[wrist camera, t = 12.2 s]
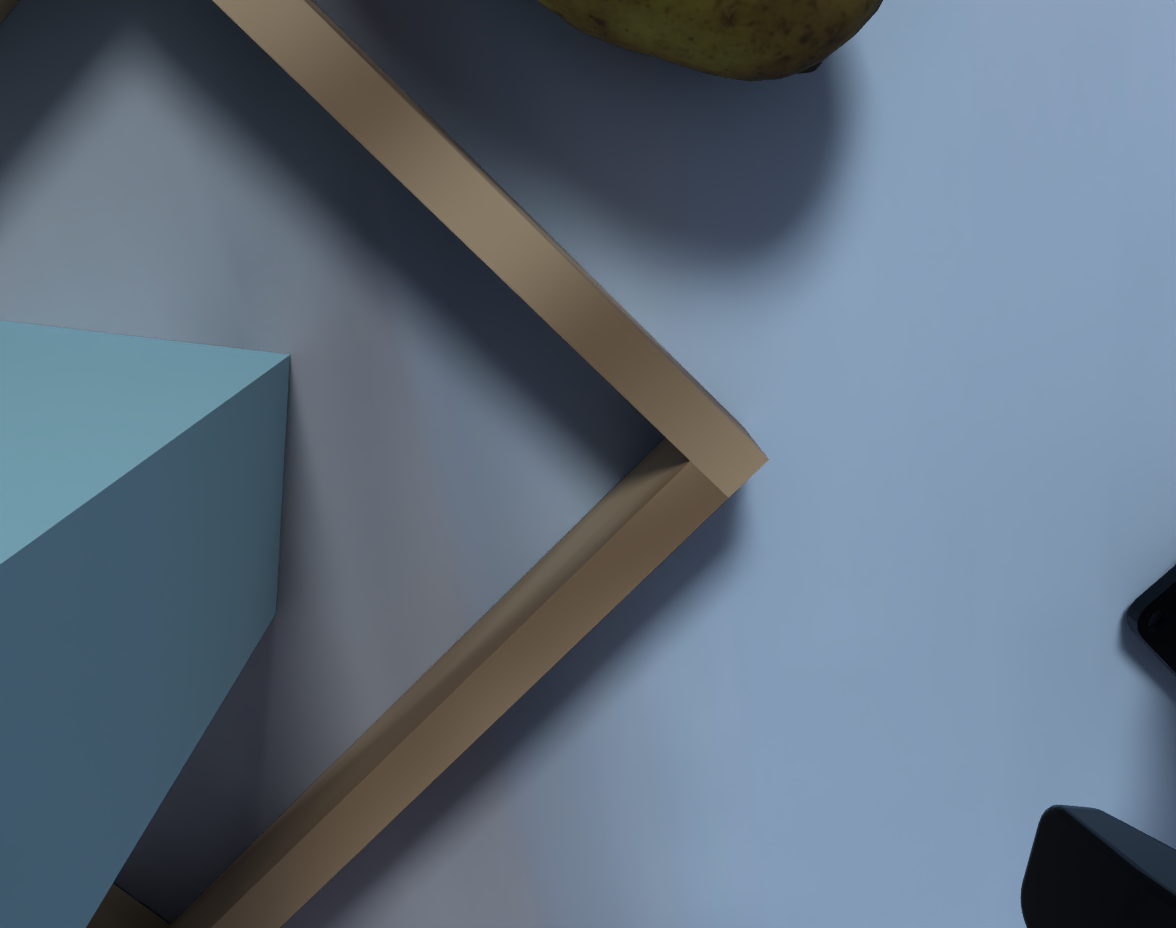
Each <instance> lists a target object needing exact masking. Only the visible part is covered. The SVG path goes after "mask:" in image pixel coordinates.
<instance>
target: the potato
mask: <svg viewBox="0 0 1176 928" xmlns="http://www.w3.org/2000/svg"><path fill="white" fill-rule="evenodd" d="M538 1H539V2H540V3H541V4H542V5H544V6H545V7H547V8H548V9H550V10H551V11H553V12H554V13H556V14H557V15H558V16H560V17H561V18H562V19H564V20H565V21H566V22H568V23H569V24H571V25H572V26H574V27H575V28H577V29H579V30H580V31H582V32H584V33H586V34H589V35H591V36H593V37H596V38H598V39H601V40H603V41H606V42H608V43H610V44H613V45H615V46H617V47H620V48H623V49H627V50H631V51H635V52H639V53H642V54H646V55H649V56H653V57H656V58H660V59H663V60H666V61H669V62H672V63H675V64H678V65H681V66H684V67H687V68H691V69H694V70H697V71H701V72H704V73H707V74H713V75H716V76H721V77H726V78H731V79H738V80H746V81H760V80H771V79H781V78H784V77H787V76H790V75H794V74H799V73H808V72H812V71H815V70H816V69H817V68H818V66H819V65H820V64H821V63H822V61H823V60H824V59H826V58H827V57H828V56H829V55H830V54H831V53H833V52H834V51H835V50H837V49H838V48H839V47H841V46H842V45H843V44H845V43H846V42H847V41H848V40H850V39H851V38H852V37H853V36H854V35H855V34H856V33H857V32H858V31H859V30H860V29H861V28H862V27H863V26H864V25H865V24H866V23H867V21H868V20H869V19H870V18H871V17H872V16H873V15H874V14H875V13H876V11H877V10H878V9H879V7H880V5H881V3H882V1H883V0H538Z"/></svg>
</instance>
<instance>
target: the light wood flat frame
mask: <svg viewBox="0 0 1176 928" xmlns="http://www.w3.org/2000/svg"><path fill="white" fill-rule="evenodd" d="M18 1H19V0H0V23H1V22H2V21H3V20H4V18H5V17H6V16H7V15H8V13H9V12H10V11H11V10H12V8H13V7H14V6H15V5H16V3H17V2H18ZM212 1H213V2H215V3H216V4H217V5H218V6H219V7H220V8H221V9H222V10H223V11H224V12H225V13H226V14H227V15H228V16H229V17H230V18H231V19H232V20H233V21H234V22H235V23H236V24H237V25H238V26H239V27H240V28H242V29H243V30H244V31H245V32H246V33H247V34H248V35H249V36H250V37H251V38H252V39H253V40H254V41H255V42H256V43H257V44H258V45H259V46H260V47H261V48H262V49H263V50H264V51H265V52H266V53H267V54H268V55H270V56H271V57H272V58H273V59H274V60H275V61H276V62H277V63H278V64H279V65H280V66H281V67H282V68H283V69H284V70H285V71H286V72H287V73H288V74H289V75H290V76H291V77H292V78H293V79H294V80H295V81H297V82H298V83H299V84H300V85H301V86H302V87H303V88H304V89H305V90H306V91H307V92H308V93H309V94H310V95H311V96H312V97H313V98H314V99H315V100H316V101H317V102H318V103H319V104H320V105H321V106H322V107H324V108H325V109H326V110H327V111H328V112H329V113H330V114H331V115H332V116H333V117H334V118H335V119H336V120H337V121H338V122H339V123H340V124H341V125H342V126H343V127H344V128H345V129H346V130H347V131H348V132H349V133H350V134H352V135H353V136H354V137H355V138H356V139H357V140H358V141H359V142H360V143H361V144H362V145H363V146H364V147H365V148H366V149H367V150H368V151H369V152H370V153H371V154H372V155H373V156H374V157H375V158H376V159H377V160H379V161H380V162H381V163H382V164H383V165H384V166H385V167H386V168H387V169H388V170H389V171H390V172H391V173H392V174H393V175H394V176H395V177H396V178H397V179H398V180H399V181H400V182H401V183H402V184H403V185H404V186H405V187H407V188H408V189H409V190H410V191H411V192H412V193H413V194H414V195H415V196H416V197H417V198H418V199H419V200H420V201H421V202H422V203H423V204H424V205H425V206H426V207H427V208H428V209H429V210H430V211H431V212H432V213H434V214H435V215H436V216H437V217H438V218H439V219H440V220H441V221H442V222H443V223H444V224H445V225H446V226H447V227H448V228H449V229H450V230H451V231H452V232H453V233H454V234H455V235H456V236H457V237H458V238H459V239H460V240H462V241H463V242H464V243H465V244H466V245H467V246H468V247H469V248H470V249H471V250H472V251H473V252H474V253H475V254H476V255H477V256H478V257H479V258H480V259H481V260H482V261H483V262H484V263H485V264H486V265H487V266H489V267H490V268H491V269H492V270H493V271H494V272H495V273H496V274H497V275H498V276H499V277H500V278H501V279H502V280H503V281H504V282H505V283H506V284H507V285H508V286H509V287H510V288H511V289H512V290H513V291H514V292H516V293H517V294H518V295H519V296H520V297H521V298H522V299H523V300H524V301H525V302H526V303H527V304H528V305H529V306H530V307H531V308H532V309H533V310H534V311H535V312H536V313H537V314H538V315H539V316H540V317H541V318H542V319H544V320H545V321H546V322H547V323H548V324H549V325H550V326H551V327H552V328H553V329H554V330H555V331H556V332H557V333H558V334H559V335H560V336H561V337H562V338H563V339H564V340H565V341H566V342H567V343H568V344H569V345H571V346H572V347H573V348H574V349H575V350H576V351H577V352H578V353H579V354H580V355H581V356H582V357H583V358H584V359H585V360H586V361H587V362H588V363H589V364H590V365H591V366H592V367H593V368H594V369H595V370H596V371H597V372H599V373H600V374H601V375H602V376H603V377H604V378H605V379H606V380H607V381H608V382H609V383H610V384H611V385H612V386H613V387H614V388H615V389H616V390H617V391H618V392H619V393H620V394H621V395H622V396H623V397H624V398H626V399H627V400H628V401H629V402H630V403H631V404H632V405H633V406H634V407H635V408H636V409H637V410H638V411H639V412H640V413H641V414H642V415H643V416H644V417H645V418H646V419H647V420H648V421H649V422H650V423H651V424H652V425H654V426H655V427H656V428H657V429H658V430H659V431H660V432H661V433H662V434H663V435H664V436H665V438H664V439H663V440H662V441H661V442H660V443H659V444H658V445H657V446H655V447H654V448H653V449H652V450H651V451H650V452H649V453H648V454H647V455H646V456H645V457H644V458H643V459H642V460H641V461H640V462H639V463H638V464H637V465H636V466H635V467H634V468H633V469H632V470H631V471H630V472H629V473H628V474H627V475H626V476H625V477H624V478H623V479H622V480H621V481H620V482H619V483H618V484H617V485H616V486H615V487H614V488H613V489H612V490H611V491H610V492H609V493H608V494H607V495H606V496H605V497H604V498H603V499H602V500H601V501H600V502H599V503H598V504H597V505H596V506H595V507H594V508H593V509H591V510H590V511H589V512H588V513H587V514H586V515H585V516H584V517H583V518H582V519H581V520H580V521H579V522H578V523H577V524H576V525H575V526H574V527H573V528H572V529H571V530H570V531H569V532H568V533H567V534H566V535H565V536H564V537H563V538H562V539H561V540H560V541H559V542H558V543H557V544H556V545H555V546H554V547H553V548H552V549H551V550H550V551H549V552H548V553H547V554H546V555H545V556H544V557H543V558H542V559H541V560H540V561H539V562H538V563H537V564H536V565H535V566H534V567H533V568H532V569H531V570H530V571H529V572H527V573H526V574H525V575H524V576H523V577H522V578H521V579H520V580H519V581H518V582H517V583H516V584H515V585H514V586H513V587H512V588H511V589H510V590H509V591H508V592H507V593H506V594H505V595H504V596H503V597H502V598H501V599H500V600H499V601H498V602H497V603H496V604H495V605H494V606H493V607H492V608H491V609H490V610H489V611H488V612H487V613H486V614H485V615H484V616H483V617H482V618H481V619H480V620H479V621H478V622H477V623H476V624H475V625H474V626H473V627H472V628H471V629H470V630H469V631H468V632H467V633H466V634H464V635H463V636H462V637H461V638H460V639H459V640H458V641H457V642H456V643H455V644H454V645H453V646H452V647H451V648H450V649H449V650H448V651H447V652H446V653H445V654H444V655H443V656H442V657H441V658H440V659H439V660H438V661H437V662H436V663H435V664H434V665H433V666H432V667H431V668H430V669H429V670H428V671H427V672H426V673H425V674H424V675H423V676H422V677H421V678H420V679H419V680H418V681H417V682H416V683H415V684H414V685H413V686H412V687H411V688H410V689H409V690H408V691H407V692H406V693H405V694H404V695H403V696H402V697H400V698H399V699H398V700H397V701H396V702H395V703H394V704H393V705H392V706H391V707H390V708H389V709H388V710H387V711H386V712H385V713H384V714H383V715H382V716H381V717H380V718H379V719H378V720H377V721H376V722H375V723H374V724H373V725H372V726H371V727H370V728H369V729H368V730H367V731H366V732H365V733H364V734H363V735H362V736H361V737H360V738H359V739H358V740H357V741H356V742H355V743H354V744H353V745H352V746H351V747H350V748H349V749H348V750H347V751H346V752H345V753H344V754H343V755H342V756H341V757H340V758H339V759H338V760H336V761H335V762H334V763H333V764H332V765H331V766H330V767H329V768H328V769H327V770H326V771H325V772H324V773H323V774H322V775H321V776H320V777H319V778H318V779H317V780H316V781H315V782H314V783H313V784H312V785H311V786H310V787H309V788H308V789H307V790H306V791H305V792H304V793H303V794H302V795H301V796H300V797H299V798H298V799H297V800H296V801H295V802H294V803H293V804H292V805H291V806H290V807H289V808H288V809H287V810H286V811H285V812H284V813H283V814H282V815H281V816H280V817H279V818H278V819H277V820H276V821H275V822H274V823H272V824H271V825H270V826H269V827H268V828H267V829H266V830H265V831H264V832H263V833H262V834H261V835H260V836H259V837H258V838H257V839H256V840H255V841H254V842H253V843H252V844H251V845H250V846H249V847H248V848H247V849H246V850H245V851H244V852H243V853H242V854H241V855H240V856H239V857H238V858H237V859H236V860H235V861H234V862H233V863H232V864H231V865H230V866H229V867H228V868H227V869H226V870H225V871H224V872H223V873H222V874H221V875H220V876H219V877H218V878H217V879H216V880H215V881H214V882H213V883H212V884H211V885H210V886H208V887H207V888H206V889H205V890H204V891H203V892H202V893H201V894H200V895H199V896H198V897H197V898H196V899H195V900H194V901H193V902H192V903H191V904H190V905H189V906H188V907H187V908H186V909H185V910H184V911H183V912H182V913H181V914H180V915H179V916H178V917H177V918H176V919H175V920H174V921H173V922H172V923H171V924H169V923H167V922H166V921H164V920H163V919H162V918H160V917H159V916H158V915H156V914H155V913H153V912H152V911H151V910H149V909H148V908H146V907H145V906H144V905H142V904H141V903H139V902H138V901H137V900H135V899H134V898H133V897H131V896H130V895H128V894H127V893H126V892H124V891H123V890H121V889H120V888H119V887H117V886H116V885H114V884H112V885H111V887H110V889H109V890H108V892H107V894H106V895H105V897H104V899H103V900H102V902H101V904H100V905H99V907H98V908H97V910H96V912H95V913H94V915H93V917H92V918H91V920H90V922H89V923H88V925H87V927H86V928H280V927H281V926H282V925H283V924H284V923H286V922H287V921H288V920H289V919H290V918H291V917H292V916H293V915H294V914H295V913H296V912H297V911H298V910H299V909H300V908H301V907H302V906H303V905H304V904H305V903H306V902H307V901H308V900H310V899H311V898H312V897H313V896H314V895H315V894H316V893H317V892H318V891H319V890H320V889H321V888H322V887H323V886H324V885H325V884H326V883H327V882H328V881H329V880H330V879H331V878H332V877H334V876H335V875H336V874H337V873H338V872H339V871H340V870H341V869H342V868H343V867H344V866H345V865H346V864H347V863H348V862H349V861H350V860H351V859H352V858H353V857H354V856H355V855H356V854H358V853H359V852H360V851H361V850H362V849H363V848H364V847H365V846H366V845H367V844H368V843H369V842H370V841H371V840H372V839H373V838H374V837H375V836H376V835H377V834H378V833H379V832H380V831H382V830H383V829H384V828H385V827H386V826H387V825H388V824H389V823H390V822H391V821H392V820H393V819H394V818H395V817H396V816H397V815H398V814H399V813H400V812H401V811H402V810H403V809H404V808H406V807H407V806H408V805H409V804H410V803H411V802H412V801H413V800H414V799H415V798H416V797H417V796H418V795H419V794H420V793H421V792H422V791H423V790H424V789H425V788H426V787H427V786H429V785H430V784H431V783H432V782H433V781H434V780H435V779H436V778H437V777H438V776H439V775H440V774H441V773H442V772H443V771H444V770H445V769H446V768H447V767H448V766H449V765H450V764H451V763H453V762H454V761H455V760H456V759H457V758H458V757H459V756H460V755H461V754H462V753H463V752H464V751H465V750H466V749H467V748H468V747H469V746H470V745H471V744H472V743H473V742H474V741H475V740H477V739H478V738H479V737H480V736H481V735H482V734H483V733H484V732H485V731H486V730H487V729H488V728H489V727H490V726H491V725H492V724H493V723H494V722H495V721H496V720H497V719H498V718H499V717H501V716H502V715H503V714H504V713H505V712H506V711H507V710H508V709H509V708H510V707H511V706H512V705H513V704H514V703H515V702H516V701H517V700H518V699H519V698H520V697H521V696H522V695H523V694H525V693H526V692H527V691H528V690H529V689H530V688H531V687H532V686H533V685H534V684H535V683H536V682H537V681H538V680H539V679H540V678H541V677H542V676H543V675H544V674H545V673H546V672H548V671H549V670H550V669H551V668H552V667H553V666H554V665H555V664H556V663H557V662H558V661H559V660H560V659H561V658H562V657H563V656H564V655H565V654H566V653H567V652H568V651H569V650H570V649H572V648H573V647H574V646H575V645H576V644H577V643H578V642H579V641H580V640H581V639H582V638H583V637H584V636H585V635H586V634H587V633H588V632H589V631H590V630H591V629H592V628H593V627H594V626H596V625H597V624H598V623H599V622H600V621H601V620H602V619H603V618H604V617H605V616H606V615H607V614H608V613H609V612H610V611H611V610H612V609H613V608H614V607H615V606H616V605H617V604H618V603H620V602H621V601H622V600H623V599H624V598H625V597H626V596H627V595H628V594H629V593H630V592H631V591H632V590H633V589H634V588H635V587H636V586H637V585H638V584H639V583H640V582H641V581H642V580H644V579H645V578H646V577H647V576H648V575H649V574H650V573H651V572H652V571H653V570H654V569H655V568H656V567H657V566H658V565H659V564H660V563H661V562H662V561H663V560H664V559H665V558H666V557H668V556H669V555H670V554H671V553H672V552H673V551H674V550H675V549H676V548H677V547H678V546H679V545H680V544H681V543H682V542H683V541H684V540H685V539H686V538H687V537H688V536H689V535H691V534H692V533H693V532H694V531H695V530H696V529H697V528H698V527H699V526H700V525H701V524H702V523H703V522H704V521H705V520H706V519H707V518H708V517H709V516H710V515H711V514H712V513H713V512H715V511H716V510H717V509H718V508H719V507H720V506H721V505H722V504H723V503H724V502H725V501H726V500H727V499H728V498H729V497H730V496H731V495H732V494H733V493H734V492H735V491H736V490H737V489H739V488H740V487H741V486H742V485H743V484H744V483H745V482H746V481H747V480H748V479H749V478H750V477H751V476H752V475H753V474H754V473H755V472H756V471H757V470H758V469H759V468H760V467H761V466H763V465H764V464H765V463H766V462H767V461H768V460H769V459H768V458H767V456H766V455H765V454H764V453H763V451H762V450H761V449H760V447H759V446H758V445H757V444H756V442H755V441H754V440H753V438H752V437H751V436H750V435H749V433H748V432H747V431H746V430H745V428H744V427H743V426H742V425H741V424H740V423H739V422H738V421H737V420H736V419H735V418H734V417H733V416H732V415H731V414H730V413H729V412H728V411H727V410H726V409H725V408H724V407H723V406H722V405H721V404H720V403H719V402H718V401H717V400H716V399H715V398H714V397H713V396H712V395H711V394H710V393H709V392H708V391H707V390H706V389H705V388H704V387H703V386H702V385H701V384H700V383H699V382H697V381H696V380H695V379H694V378H693V377H692V376H691V375H690V374H689V373H688V372H687V371H686V370H685V369H684V368H683V367H682V366H681V365H680V364H679V363H678V362H677V361H676V360H675V359H674V358H673V357H672V356H671V355H670V354H669V353H668V352H667V351H666V350H665V349H664V348H663V347H662V346H661V345H660V344H659V343H658V342H657V341H656V340H655V339H654V338H653V337H652V336H651V335H650V334H649V333H648V332H647V331H646V330H645V329H644V328H643V327H642V326H641V325H640V324H639V323H638V322H637V321H636V320H635V319H634V318H633V317H632V316H631V315H630V314H629V313H628V312H627V311H626V310H625V309H624V308H623V307H622V306H621V305H620V304H619V303H618V302H617V301H616V300H615V299H614V298H613V297H612V296H611V295H610V294H608V293H607V292H606V291H605V290H604V289H603V288H602V287H601V286H600V285H599V284H598V283H597V282H596V281H595V280H594V279H593V278H592V277H591V276H590V275H589V274H588V273H587V272H586V271H585V270H584V269H583V268H582V267H581V266H580V265H579V264H578V263H577V262H576V261H575V260H574V259H573V258H572V257H571V256H570V255H569V254H568V253H567V252H566V251H565V250H564V249H563V248H562V247H561V246H560V245H559V244H558V243H557V242H556V241H555V240H554V239H553V238H552V237H551V236H550V235H549V234H548V233H547V232H546V231H545V230H544V229H543V228H542V227H541V226H540V225H539V224H538V223H537V222H536V221H535V220H534V219H533V218H532V217H531V216H530V215H529V214H528V213H527V212H526V211H525V210H524V209H523V208H522V207H521V206H519V205H518V204H517V203H516V202H515V201H514V200H513V199H512V198H511V197H510V196H509V195H508V194H507V193H506V192H505V191H504V190H503V189H502V188H501V187H500V186H499V185H498V184H497V183H496V182H495V181H494V180H493V179H492V178H491V177H490V176H489V175H488V174H487V173H486V172H485V171H484V170H483V169H482V168H481V167H480V166H479V165H478V164H477V163H476V162H475V161H474V160H473V159H472V158H471V157H470V156H469V155H468V154H467V153H466V152H465V151H464V150H463V149H462V148H461V147H460V146H459V145H458V144H457V143H456V142H455V141H454V140H453V139H452V138H451V137H450V136H449V135H448V134H447V133H446V132H445V131H444V130H443V129H442V128H441V127H440V126H439V125H438V124H437V123H436V122H435V121H434V120H433V119H432V118H430V117H429V116H428V115H427V114H426V113H425V112H424V111H423V110H422V109H421V108H420V107H419V106H418V105H417V104H416V103H415V102H414V101H413V100H412V99H411V98H410V97H409V96H408V95H407V94H406V93H405V92H404V91H403V90H402V89H401V88H400V87H399V86H398V85H397V84H396V83H395V82H394V81H393V80H392V79H391V78H390V77H389V76H388V75H387V74H386V73H385V72H384V71H383V70H382V69H381V68H380V67H379V66H378V65H377V64H376V63H375V62H374V61H373V60H372V59H371V58H370V57H369V56H368V55H367V54H366V53H365V52H364V51H363V50H362V49H361V48H360V47H359V46H358V45H357V44H356V43H355V42H354V41H353V40H352V39H351V38H350V37H349V36H348V35H347V34H346V33H345V32H344V31H343V30H341V29H340V28H339V27H338V26H337V25H336V24H335V23H334V22H333V21H332V20H331V19H330V18H329V17H328V16H327V15H326V14H325V13H324V12H323V11H322V10H321V9H320V8H319V7H318V6H317V5H316V4H315V3H314V2H313V1H312V0H212Z"/></svg>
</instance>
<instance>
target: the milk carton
mask: <svg viewBox="0 0 1176 928" xmlns="http://www.w3.org/2000/svg"><path fill="white" fill-rule="evenodd" d="M289 367H290V355H289V354H281V353H272V352H264V351H255V350H247V349H238V348H230V347H221V346H213V345H204V344H196V343H187V342H179V341H170V340H162V339H154V338H145V337H137V336H128V335H120V334H111V333H103V332H94V331H86V330H77V329H69V328H60V327H52V326H44V325H35V324H27V323H18V322H10V321H1V320H0V928H86V927H87V925H88V923H89V922H90V920H91V918H92V917H93V915H94V913H95V912H96V910H97V908H98V907H99V905H100V904H101V902H102V900H103V899H104V897H105V895H106V894H107V892H108V890H109V889H110V887H111V885H112V884H113V882H114V880H115V879H116V877H117V875H118V874H119V872H120V871H121V869H122V867H123V866H124V864H125V862H126V861H127V859H128V857H129V856H130V854H131V852H132V851H133V849H134V847H135V846H136V844H137V842H138V841H139V839H140V837H141V836H142V834H143V833H144V831H145V829H146V828H147V826H148V824H149V823H150V821H151V819H152V818H153V816H154V814H155V813H156V811H157V809H158V808H159V806H160V804H161V803H162V801H163V799H164V798H165V796H166V795H167V793H168V791H169V790H170V788H171V786H172V785H173V783H174V781H175V780H176V778H177V776H178V775H179V773H180V771H181V770H182V768H183V766H184V765H185V763H186V761H187V760H188V758H189V757H190V755H191V753H192V752H193V750H194V748H195V747H196V745H197V743H198V742H199V740H200V738H201V737H202V735H203V733H204V732H205V730H206V728H207V727H208V725H209V724H210V722H211V720H212V719H213V717H214V715H215V714H216V712H217V710H218V709H219V707H220V705H221V704H222V702H223V700H224V699H225V697H226V695H227V694H228V692H229V690H230V689H231V687H232V686H233V684H234V682H235V681H236V679H237V677H238V676H239V674H240V672H241V671H242V669H243V667H244V666H245V664H246V662H247V661H248V659H249V657H250V656H251V654H252V652H253V651H254V649H255V648H256V646H257V644H258V643H259V641H260V639H261V638H262V636H263V634H264V633H265V631H266V629H267V628H268V626H269V624H270V623H271V621H272V619H273V618H274V616H275V615H276V603H277V585H278V567H279V548H280V530H281V512H282V494H283V476H284V458H285V440H286V421H287V403H288V385H289Z"/></svg>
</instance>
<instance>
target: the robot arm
mask: <svg viewBox="0 0 1176 928" xmlns="http://www.w3.org/2000/svg"><path fill="white" fill-rule="evenodd" d="M1158 611H1162V614H1161V618H1160V619H1159V620H1158V622H1156V623H1154V624H1152V625H1148V624H1149V619H1150V618H1151V616H1152V615H1153V614H1154V613H1156V612H1158ZM1127 620H1128V624H1129V626H1130V628H1131V630H1132V631H1133V632H1134V633H1135V634H1136V635H1137V636H1138V637H1139V638H1140V639H1141V640H1142V641H1143V642H1144V643H1145V644H1146V645H1147V646H1148V648H1149V649H1150V650H1151V651H1152V652H1153V653H1154V654H1155V655H1156V656H1157V657H1158V658H1159V659H1160V660H1161V661H1162V662H1163V663H1164V664H1165V665H1166V666H1167V667H1168V669H1169V670H1170V671H1171V672H1172V673H1173V674H1174V675H1175V676H1176V565H1175V566H1174V567H1173V568H1172V569H1171V570H1169V571H1168V572H1167V573H1166V574H1165V575H1164V576H1162V577H1161V578H1160V579H1159V580H1158V581H1157V582H1155V583H1154V584H1153V585H1152V586H1151V587H1150V588H1148V589H1147V590H1146V591H1145V592H1144V593H1143V594H1141V595H1140V596H1139V597H1138V598H1137V599H1136V600H1135V601H1134V602H1133V603H1132V605H1131V606H1130V608H1129V611H1128V614H1127ZM1021 908H1022V914H1023V917H1024V921H1025V924H1026V927H1027V928H1176V850H1175V849H1173V848H1171V847H1170V846H1168V845H1166V844H1164V843H1162V842H1160V841H1158V840H1156V839H1154V838H1153V837H1151V836H1149V835H1147V834H1145V833H1143V832H1141V831H1139V830H1137V829H1136V828H1134V827H1132V826H1130V825H1128V824H1126V823H1124V822H1122V821H1120V820H1119V819H1117V818H1115V817H1113V816H1111V815H1109V814H1107V813H1105V812H1103V811H1101V810H1099V809H1095V808H1089V807H1078V806H1067V805H1053V806H1051V807H1050V808H1048V809H1047V810H1045V812H1044V813H1043V815H1042V816H1041V819H1040V821H1039V824H1038V828H1037V831H1036V835H1035V839H1034V842H1033V846H1032V850H1031V853H1030V857H1029V861H1028V864H1027V868H1026V872H1025V875H1024V879H1023V883H1022V888H1021Z"/></svg>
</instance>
